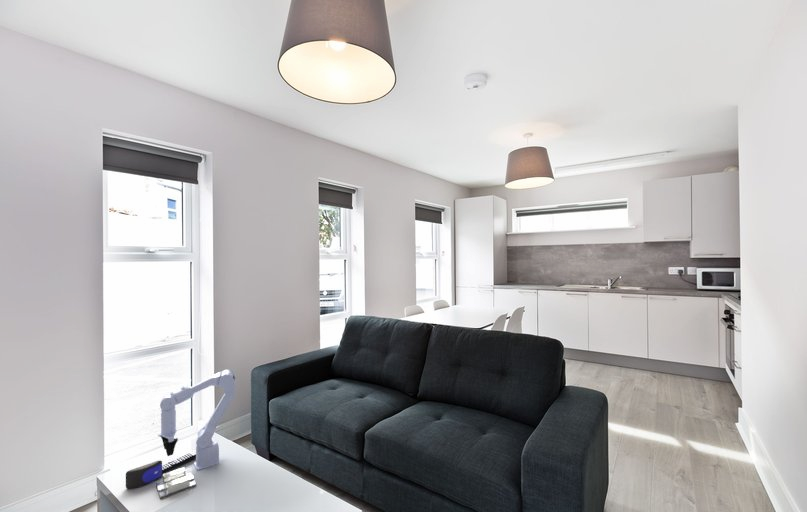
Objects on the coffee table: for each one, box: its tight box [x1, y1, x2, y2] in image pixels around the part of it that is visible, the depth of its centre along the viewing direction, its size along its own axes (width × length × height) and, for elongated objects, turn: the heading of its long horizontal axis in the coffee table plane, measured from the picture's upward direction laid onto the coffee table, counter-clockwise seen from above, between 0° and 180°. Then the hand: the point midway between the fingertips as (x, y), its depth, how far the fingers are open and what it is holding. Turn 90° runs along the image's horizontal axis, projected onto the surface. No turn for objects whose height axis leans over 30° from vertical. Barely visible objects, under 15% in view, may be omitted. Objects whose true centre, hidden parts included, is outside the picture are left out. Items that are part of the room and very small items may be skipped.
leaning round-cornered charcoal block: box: [125, 460, 163, 490], centre depth 162 cm, size 13×4×8 cm, turn 135°
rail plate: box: [155, 466, 197, 500], centre depth 159 cm, size 13×12×5 cm
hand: (168, 451), depth 170 cm, fingers open, 7 cm apart
